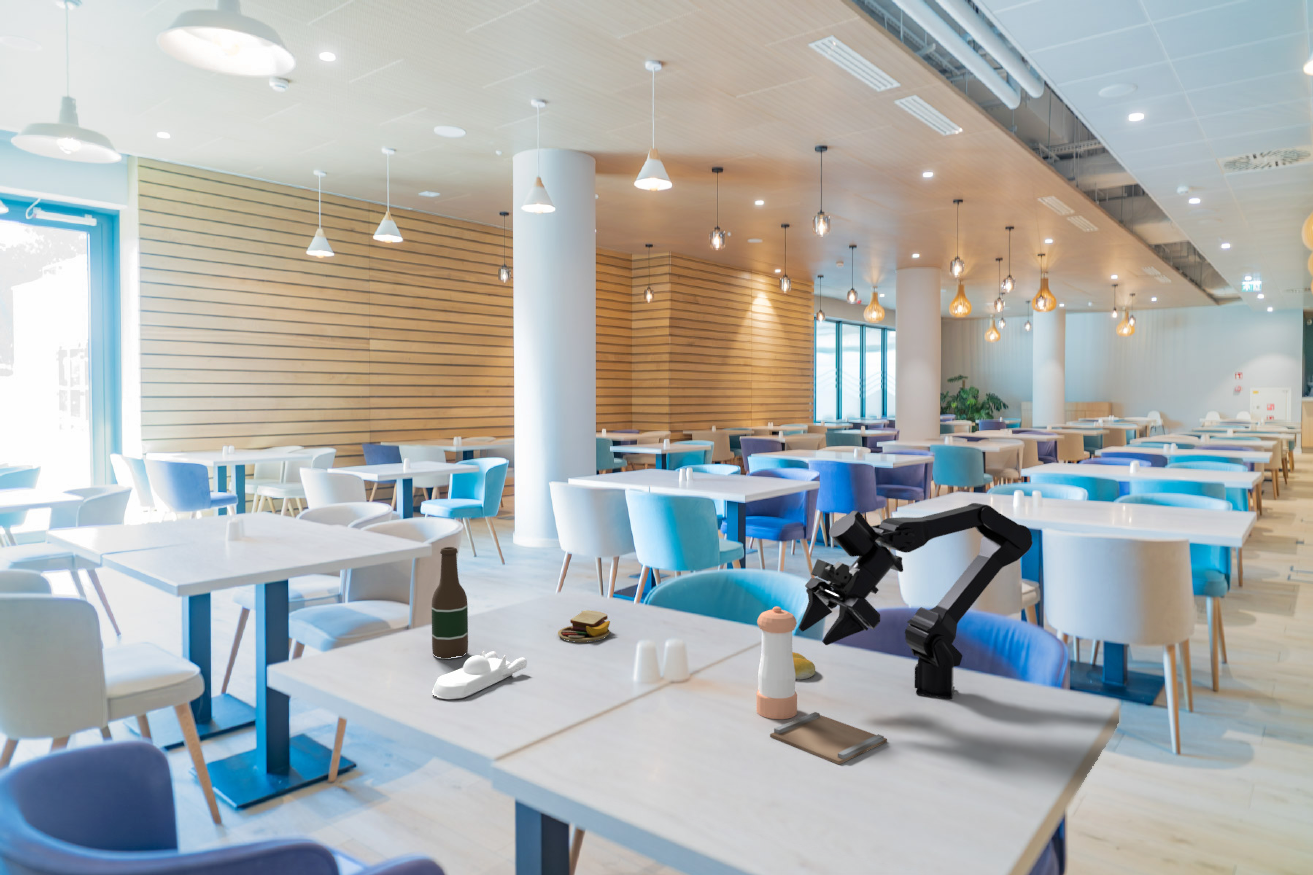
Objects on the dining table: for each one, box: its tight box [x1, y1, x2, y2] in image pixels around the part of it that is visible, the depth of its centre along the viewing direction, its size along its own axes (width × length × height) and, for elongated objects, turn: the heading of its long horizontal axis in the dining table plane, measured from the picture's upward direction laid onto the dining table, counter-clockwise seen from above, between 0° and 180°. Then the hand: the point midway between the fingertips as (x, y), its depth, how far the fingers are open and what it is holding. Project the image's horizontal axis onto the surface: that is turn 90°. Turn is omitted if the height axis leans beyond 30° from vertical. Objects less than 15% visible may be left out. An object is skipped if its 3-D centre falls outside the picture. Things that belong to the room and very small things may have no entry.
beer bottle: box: [431, 546, 469, 658], centre depth 182 cm, size 8×8×24 cm
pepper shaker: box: [755, 606, 798, 720], centre depth 147 cm, size 7×7×19 cm
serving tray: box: [769, 711, 888, 765], centre depth 136 cm, size 13×14×1 cm
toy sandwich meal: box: [557, 609, 611, 643], centre depth 197 cm, size 12×14×5 cm
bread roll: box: [792, 651, 816, 680], centre depth 169 cm, size 8×9×4 cm
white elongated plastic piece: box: [431, 650, 528, 700], centre depth 163 cm, size 10×20×6 cm, turn 149°
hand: (811, 636), depth 149 cm, fingers open, 9 cm apart
